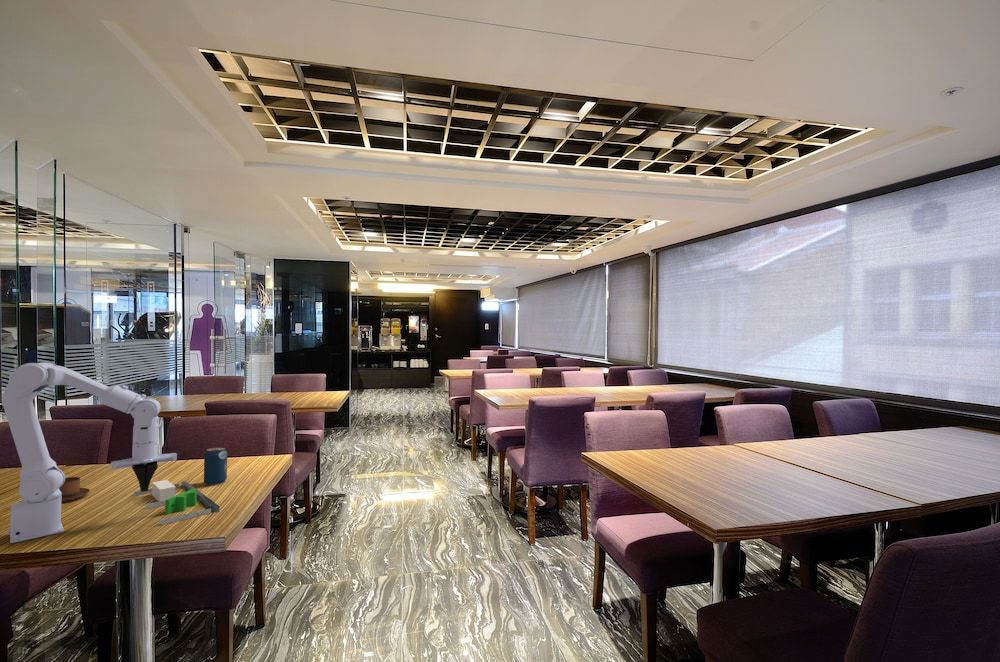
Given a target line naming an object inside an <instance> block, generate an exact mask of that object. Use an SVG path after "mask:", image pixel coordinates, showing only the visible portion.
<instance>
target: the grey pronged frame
mask: <svg viewBox="0 0 1000 662" xmlns="http://www.w3.org/2000/svg"><path fill="white" fill-rule="evenodd" d="M172 484H173V485H174V486H175V487H176V489H177V488H180V484H181V487H182V489H184V490H185V491H189V490H191V489H196V492H197V501H199V502H201V503H202V504H203V505H205V506H206V507H207V508H206V509H201V510H198V511H197V510H196V511H193V512H189V513H183V514H180V515H175V516H171V517H170V516H169V517H166V518H163V519H159V526H163V525H167V524H171V523H174V522H175V523H176V522H179V521H183V520H184V521H185V520H188V519H192V518H196V517H201V516H205V515H208V514H209V515H210V514H211V513H212V512H213V513H217V512H220V505H219V504H217V503H216V502H215V501H213V500H212V499H211V498H209V497H208V496H206V495H205V494H204V493H202V492H201V491H200V490H198V489H197V488H196V487H195V486H193V485H192V484H190V483H189V482H188V481H186V480H185V481H181V483H178V482H177V483H172ZM146 494H152V487H151V488H148V491H144V492H141V491H140V489H138V490H135V491H133V496H140V495H146ZM165 504H166V500H165V501H160V502H159V501H156V502H151V503H150V502H149V503H146V504H145V510H148V509H154V508H157V507H162V506H163V507H164V506H165Z"/></svg>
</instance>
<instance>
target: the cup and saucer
mask: <svg viewBox="0 0 1000 662" xmlns="http://www.w3.org/2000/svg"><path fill="white" fill-rule="evenodd" d="M59 490H60V491H61V493H62V500H61V503H66V502H71V501H74V500H77V499H80V498H83V497H85V496H86V495H88V493H89V492H90V491H91V490H90V489H89V488H86V487H81V477H78V476H71V477H69V476H68V477H65V482H64V484H63V485H62V486H61V487H60V488H59Z"/></svg>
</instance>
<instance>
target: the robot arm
mask: <svg viewBox="0 0 1000 662" xmlns="http://www.w3.org/2000/svg"><path fill="white" fill-rule="evenodd" d="M8 375H9V376H8V382H7V385H6V387H5V389H4V392H3V394H2V396H1V403H2V407H3V410H4V413H5V417H6V419H7V422H8V426H9V428H10V431H11V432H10V433H11V436H12V438H13V440H14V441H13V443H14V445H15V448H16V451H17V454H18V457H19V461H20V464H21V469H20V473H19V475H18V476H19V477H18V478H19V480H20V485H19V486H18V494H19V496H20V498H22V499H21V501H18V502H14V503H11V505H10V525H9V526H8V527H7V528H8V529H7V531H8V532H7V535H9V543H10V544H14V543H19V542H23V541H24V542H25V541H28V540H33V539H37V538H42V537H46V536H51V535H52V536H53V535H54V534H55V535H56V534H61V533H63V532H65V529H64V526H63V524H62V523H63V522H61V521H62V502H61V500H62V493H61V491H60V490H59V488H60V487H61V486H62V485H63V484H64V482H65V478H66V475H65V472H63V471H62V470H61V469H60V468H59V467H58V466H57V462H56V461H55V460H53V459H52V458H51V456H50V453H49V450H48V447H47V444H46V441H45V437H44V432H43V431H42V430H43V429H42V427H41V425H40V421H39V417H38V414H37V411H36V408H35V405H34V400H35V399H36V397H37V396H38V395H39V394H40V393H41V392H43V390H44V389H47V388H48V387H50V386H68V387H71V388H74V389H76V390H79V391H82V392H84V393H88V394H90V395H92V396H96V397H99V398H100V399H101V401H102V405H105V406H108V407H109V408H113V409H114V410H117V411H120V412H122V413H125V414H127V415H129V414H130V415H131V416H132V419H133V427H132V452H131V454H132V455H131V456H132V457H129V458H126V459H125V458H124V459H119V460H114V461H110V470H111V471H114V470H118V469H119V470H120V469H123V468H125V469H126V468H131V469H132V470H133V472H134V474H135V476H136V479H137V481H138V484H139V490H140V491H141V492H144V491H148V489H149V487H150V484H151V480H152V479H153V477H154V474H155V472H156V471H157V470H158V467H159V464H158V463H163V462H165V463H166V462H175V461H177V460H178V459H177V458H178V453H176V452H171V453H170V452H169V453H161V454H159V430H160V429H159V428H160V425H159V415H158V414H160V413H161V409H162V406H161V404H160V402H159V401H158V400H156V399H155V398H153V397H147V395H146V394H144V393H142V394H140V393H137V392H134V391H133V390H130V389H129V387H128V386H127V385H122V386H121V385H114V386H113V385H112V386H110V387H109V386H107V385H105V384H103V383H101V382H99V381H97V380H94V379H93V378H90V377H87V376H86V375H84V374H81V373H79V372H77V371H75V370H73V369H70V368H68V367H66V366H61V365H57V364H55V363H54V362H53V363H52V362H49V361H42V362H28V363H24V364H22V365H19V367H17V368H16V369H15V370H13V372H11V373H10V374H8Z"/></svg>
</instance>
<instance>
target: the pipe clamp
mask: <svg viewBox="0 0 1000 662" xmlns="http://www.w3.org/2000/svg"><path fill="white" fill-rule="evenodd" d="M196 489H197V488H196ZM196 489H191V490H189V491H187V490H185V491H183V492H182V493H179V494H177V495H176V494H175V496H174V497H172V498H169V499H167V500H166V504H165V505H164V506H165V507H164V508H165V510H164V511H165V512H164V514H165V515H170V514H172V513H174V512H177V511H179V512H185V511H186V510H187V508H190V507H197V503H198V502H197V501H198V499H197V492H196ZM189 506H190V507H189Z"/></svg>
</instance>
